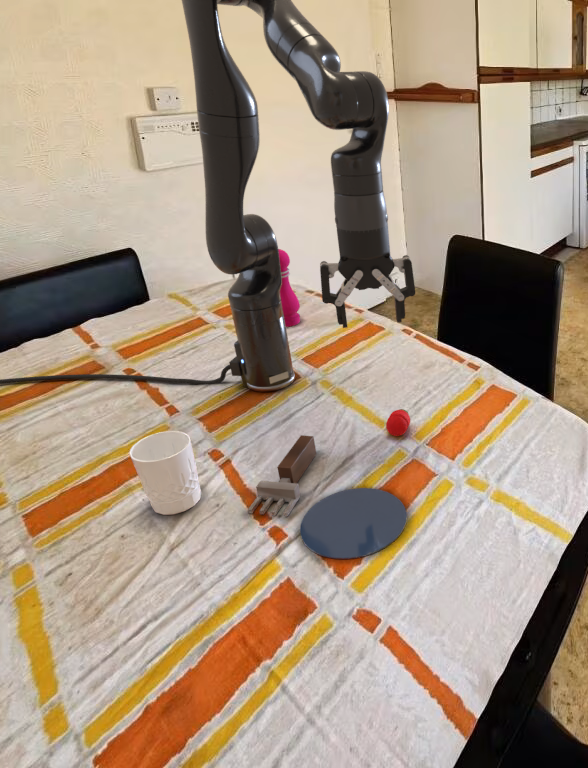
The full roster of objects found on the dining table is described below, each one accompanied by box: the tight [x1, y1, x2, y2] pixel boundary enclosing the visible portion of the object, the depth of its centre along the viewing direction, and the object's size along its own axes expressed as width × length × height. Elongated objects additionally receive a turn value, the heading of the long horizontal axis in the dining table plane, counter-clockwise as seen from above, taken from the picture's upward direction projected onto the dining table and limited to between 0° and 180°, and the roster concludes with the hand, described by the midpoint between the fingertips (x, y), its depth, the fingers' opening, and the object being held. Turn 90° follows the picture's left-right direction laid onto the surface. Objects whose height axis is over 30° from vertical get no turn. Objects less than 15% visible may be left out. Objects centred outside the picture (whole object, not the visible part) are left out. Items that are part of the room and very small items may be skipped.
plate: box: [299, 487, 408, 560], centre depth 89 cm, size 15×15×1 cm
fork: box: [247, 434, 317, 518], centre depth 97 cm, size 16×6×4 cm, turn 172°
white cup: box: [129, 430, 202, 516], centre depth 91 cm, size 8×8×10 cm
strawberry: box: [385, 408, 411, 437], centre depth 110 cm, size 4×5×4 cm
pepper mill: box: [278, 248, 301, 328], centre depth 150 cm, size 7×7×20 cm
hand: (372, 323), depth 100 cm, fingers open, 8 cm apart
